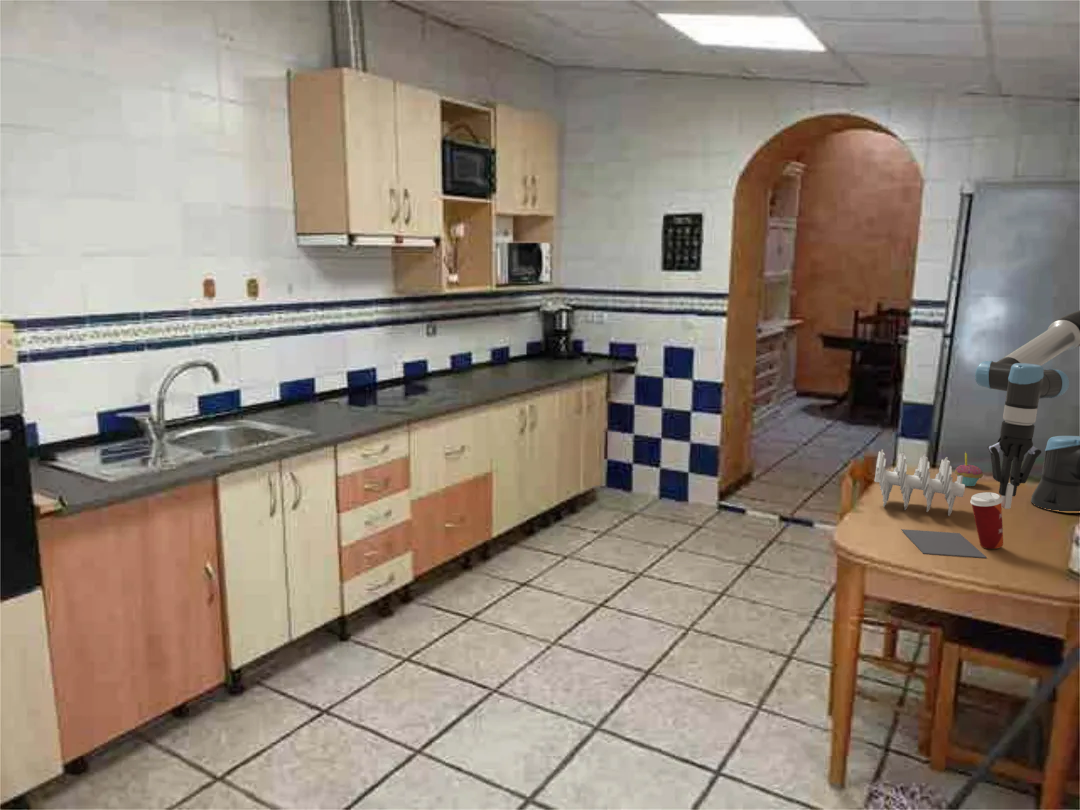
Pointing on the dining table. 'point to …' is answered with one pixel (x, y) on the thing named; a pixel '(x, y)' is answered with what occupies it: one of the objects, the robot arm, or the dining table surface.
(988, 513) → the paper cup
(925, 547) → the mat
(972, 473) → the cupcake
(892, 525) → the dining table surface
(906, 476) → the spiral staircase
